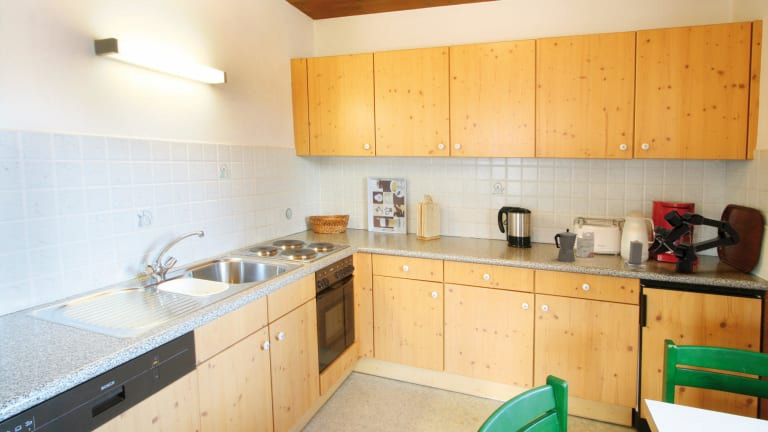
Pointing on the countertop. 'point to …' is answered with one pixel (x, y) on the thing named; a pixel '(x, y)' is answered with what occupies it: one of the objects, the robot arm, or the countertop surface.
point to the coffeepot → (566, 246)
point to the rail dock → (634, 267)
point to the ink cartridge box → (585, 245)
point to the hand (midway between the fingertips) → (650, 252)
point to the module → (635, 252)
